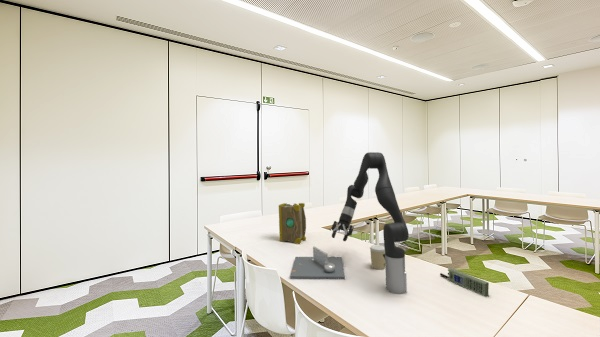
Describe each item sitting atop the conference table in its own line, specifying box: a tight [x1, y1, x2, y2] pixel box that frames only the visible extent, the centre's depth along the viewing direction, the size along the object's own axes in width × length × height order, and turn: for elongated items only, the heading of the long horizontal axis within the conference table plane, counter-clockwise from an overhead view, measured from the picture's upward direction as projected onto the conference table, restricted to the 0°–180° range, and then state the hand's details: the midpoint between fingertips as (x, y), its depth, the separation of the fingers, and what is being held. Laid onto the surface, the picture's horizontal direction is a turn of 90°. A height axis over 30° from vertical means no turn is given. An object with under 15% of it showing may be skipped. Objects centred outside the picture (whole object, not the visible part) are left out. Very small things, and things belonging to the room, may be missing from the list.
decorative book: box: [278, 202, 307, 245], centre depth 224 cm, size 20×11×30 cm, turn 63°
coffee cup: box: [369, 244, 386, 271], centre depth 168 cm, size 9×9×12 cm
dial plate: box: [289, 256, 346, 280], centre depth 169 cm, size 30×30×2 cm
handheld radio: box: [439, 267, 490, 298], centre depth 142 cm, size 7×3×25 cm
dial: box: [312, 246, 335, 272], centre depth 168 cm, size 22×6×8 cm, turn 25°
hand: (338, 239), depth 174 cm, fingers open, 8 cm apart
